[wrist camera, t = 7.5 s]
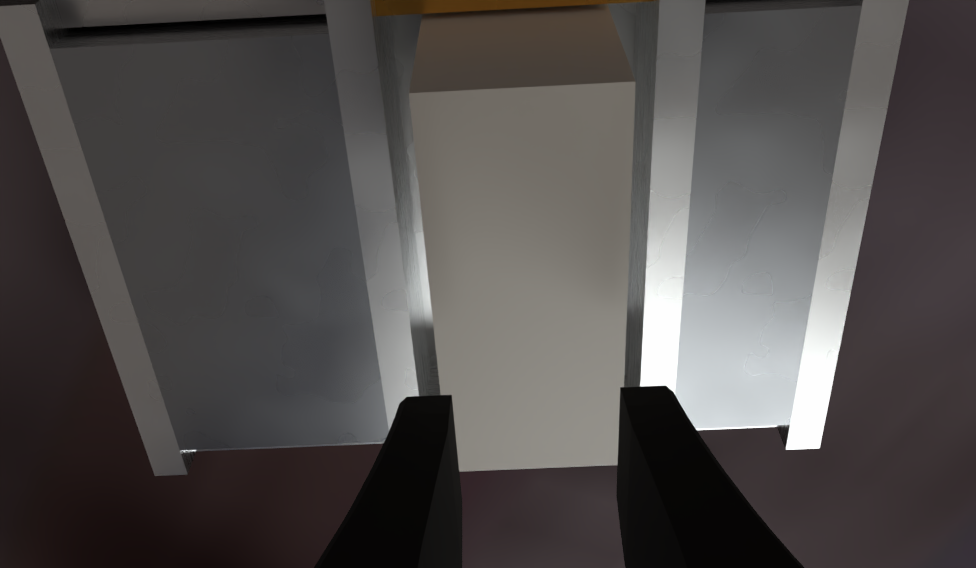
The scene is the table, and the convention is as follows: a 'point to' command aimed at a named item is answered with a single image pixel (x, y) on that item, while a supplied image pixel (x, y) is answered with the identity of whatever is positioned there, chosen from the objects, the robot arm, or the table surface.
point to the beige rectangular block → (527, 228)
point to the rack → (397, 210)
